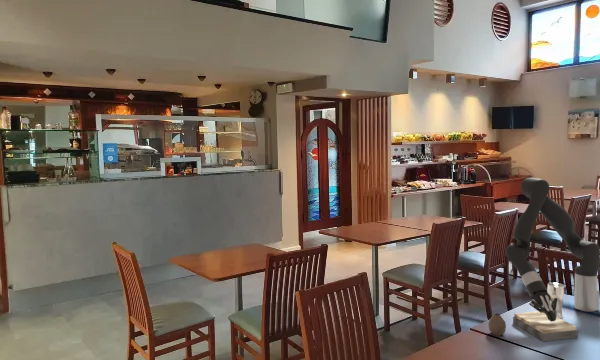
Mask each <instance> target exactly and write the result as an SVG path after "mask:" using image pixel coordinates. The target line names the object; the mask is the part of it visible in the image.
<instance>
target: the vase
mask: <svg viewBox="0 0 600 360" xmlns="http://www.w3.org/2000/svg"><path fill="white" fill-rule="evenodd" d="M501 315H502V314H500V313H498V312H494V314H493V315H492V316H491V318H489V320H488V331H489V332H490V333H491V334H492V335H494V336H498V337H499V336H502V335H504V334H505V332H506V330H507V329H506V328H507V325H506V324H507V323H506V321H505V320H504V318H503V317H502V316H501Z"/></svg>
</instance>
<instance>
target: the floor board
mask: <svg viewBox="0 0 600 360" xmlns="http://www.w3.org/2000/svg"><path fill="white" fill-rule="evenodd" d="M557 318H558V317H556V319H557ZM538 320H548V318H547V316H546V314H545V313H543V312H542V313H540V312H539V311H538V310H535V311H526V312H518V313H517V312H515V313H514V314H513V317H512V323H513V324H514V325H515V326H517V327H518V328H520V329H522V330H523V331H526V332H527V333H529V334H530V335H532V336H534V337H535V338H537V339H539V340H541V341H542V342H549V341H550V342H551V341H558V340H560V341H561V340H568V339H576V338H579V330H578V329H576V330H573V331H564V332H555V333H546V334H543V333H542V332H540V331H538V330H536V329H535V328H533V327H531V326H530V325H529V321H538Z"/></svg>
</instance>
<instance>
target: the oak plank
mask: <svg viewBox="0 0 600 360" xmlns="http://www.w3.org/2000/svg"><path fill="white" fill-rule="evenodd" d="M529 325H530V326H531V327H533V328H535V329H536V330H538V331H540V332H542V333H543V334H546V333H555V332H564V331H573V330H577V326H576V325H574V324H571V322H568V321H566V320H564V319H562V318H557V319H556V320H555V321H552V322H551V321H550V320H538V321H529Z"/></svg>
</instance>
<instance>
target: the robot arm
mask: <svg viewBox="0 0 600 360" xmlns="http://www.w3.org/2000/svg"><path fill="white" fill-rule="evenodd" d="M520 184H521V185H520V190H521V192H522V194H523V195H524V196H525V197H526V198H527V199H528V200H529V203H528V206H527V207H526V208H525V211H524V212H523V213H522V214H521V215H520V217H519V219H518V221H517V223H516V225H515V230H514V233H513V238H514V239H515V240H517V241H516V242H517V243H516V244H509V245H507V246H506V248H505V255H506V257H507V259H508V260H509V262H510V263H511V265H512V266H513V267H514V268H515V269H516V270H517V272H518V274H519V276H520V279H521V280H522V283H523V285H524V287H525V289H526V291H527V293H528V294H529V296H530V297H531V301H530V302H529V303H528V305H530V306H531V307H532V308H533V309H535V311H539V312H540V313H542V312H543V313H545V314H546V316H547V318H548V320H550V321H551V322H552V321H555V320H556V316H555V315H554V313H553V311H554V310H555V309H556V305H557V298H552V297H551V296H550V295H549V294H548V292H547V286H546V285H545V284H544V281H543V280H542V278H541V276H540V274H538V272H537V270H536V267H535V266H534V264H533V263H532V262H531V261H529V260H527V259H528V257H529V256H530V250H531V236H532V233H533V229H534V227H535V223H536V220H537V218H538V215H539V214H540V213H541V214H542V216H543V217H544V218H545V220H546V221H547V223H549V225H550V226H551V227H552V228H553V230H554V231H556V233H557V234H558V235H559V237H560V238H561V239H562V240H563V241H564V243H565V245H566V246H567V248H568V250H569V251H570V252H571V254H572V255H573V256H574V257H576V258H577V259H580V260H582V262H581V265H577V266H575V268H574V308H575V309H576V310H579V311H582V312H591V313H593V312H597V311H599V310H600V291H599V290H598V272H599V270H600V246H599V245H598V244H597V243H596V242H592V241H588V240H585V239H583V238H582V237H581V236H580V235H579V234H578V233H577V232H576V230H575V221H574V219H573V218H572V216H571V215H570V213H568V211H567V210H566V209H565V208H564V207H563V206H562V205H560V204H559V203H557V202H556V201H555V200H553V199H552V198H550V197H549V196H548V195H549V192H550V184H549V182H548V181H546V180H545V179H543V178H538V177H526V178H525V179H523V180H522V182H521V183H520ZM550 301H551V303H550Z"/></svg>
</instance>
